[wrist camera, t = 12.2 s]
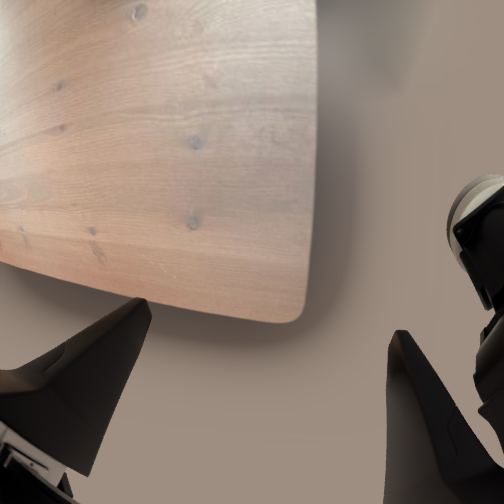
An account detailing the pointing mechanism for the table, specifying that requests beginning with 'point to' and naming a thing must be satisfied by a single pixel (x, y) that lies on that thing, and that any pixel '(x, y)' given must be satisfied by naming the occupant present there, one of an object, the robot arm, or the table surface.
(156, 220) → the table surface
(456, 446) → the robot arm
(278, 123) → the table surface
